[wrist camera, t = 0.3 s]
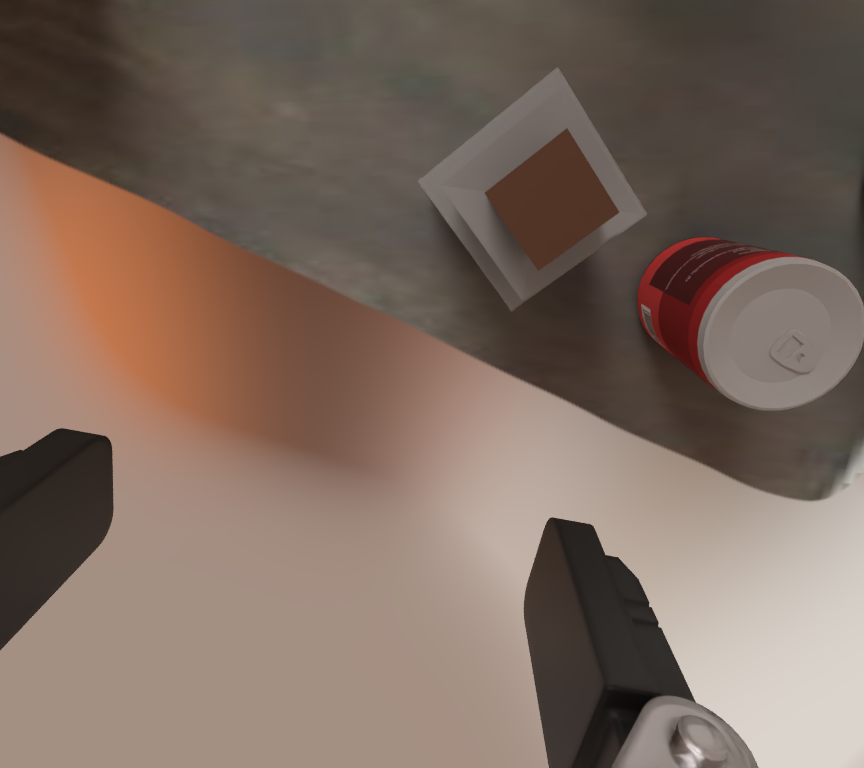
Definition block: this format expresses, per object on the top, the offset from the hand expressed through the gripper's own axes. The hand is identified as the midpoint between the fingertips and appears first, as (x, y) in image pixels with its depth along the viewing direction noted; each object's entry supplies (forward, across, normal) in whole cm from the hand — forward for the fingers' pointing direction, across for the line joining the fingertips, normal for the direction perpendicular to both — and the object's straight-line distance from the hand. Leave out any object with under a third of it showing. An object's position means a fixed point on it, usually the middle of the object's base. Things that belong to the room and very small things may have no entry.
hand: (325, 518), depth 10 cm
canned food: (+29, -18, -2) cm, 35 cm away
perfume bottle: (+29, -5, -6) cm, 30 cm away
